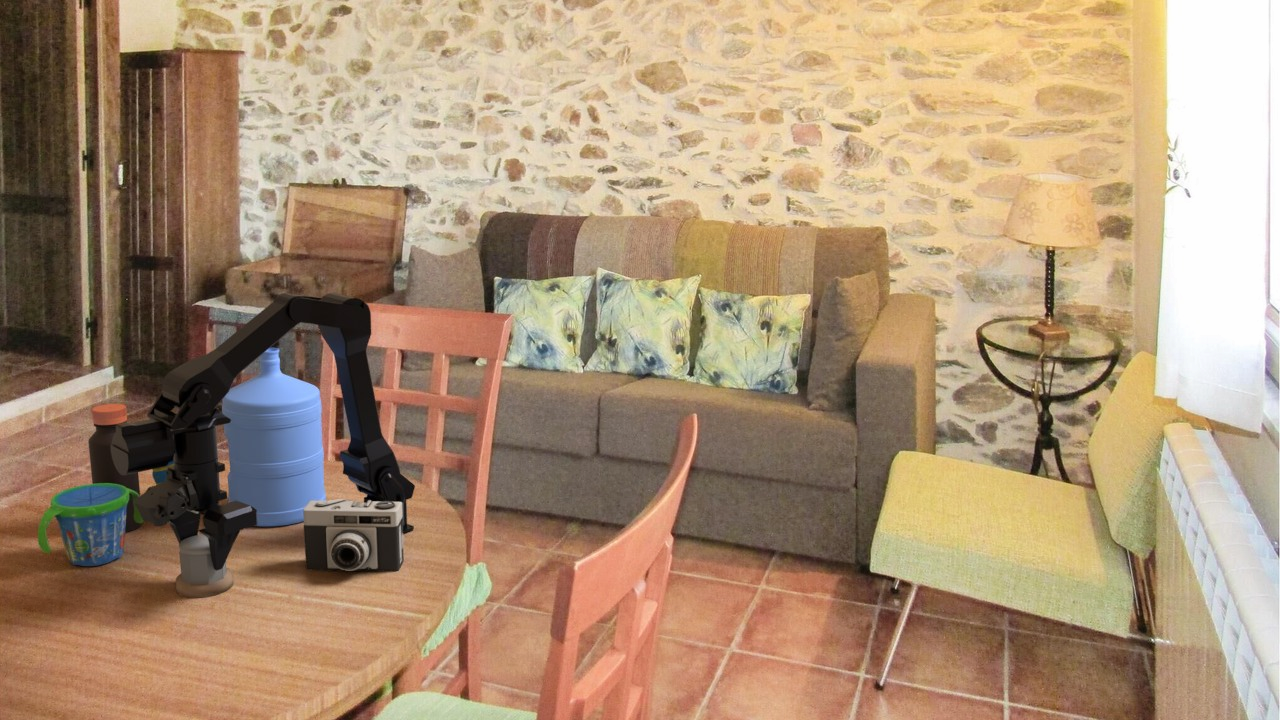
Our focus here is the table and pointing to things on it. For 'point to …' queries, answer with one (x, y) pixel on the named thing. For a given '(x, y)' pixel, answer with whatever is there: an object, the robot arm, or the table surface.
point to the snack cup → (90, 522)
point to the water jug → (274, 444)
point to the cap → (198, 562)
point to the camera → (353, 535)
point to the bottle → (102, 458)
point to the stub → (205, 587)
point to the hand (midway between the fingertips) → (203, 563)
